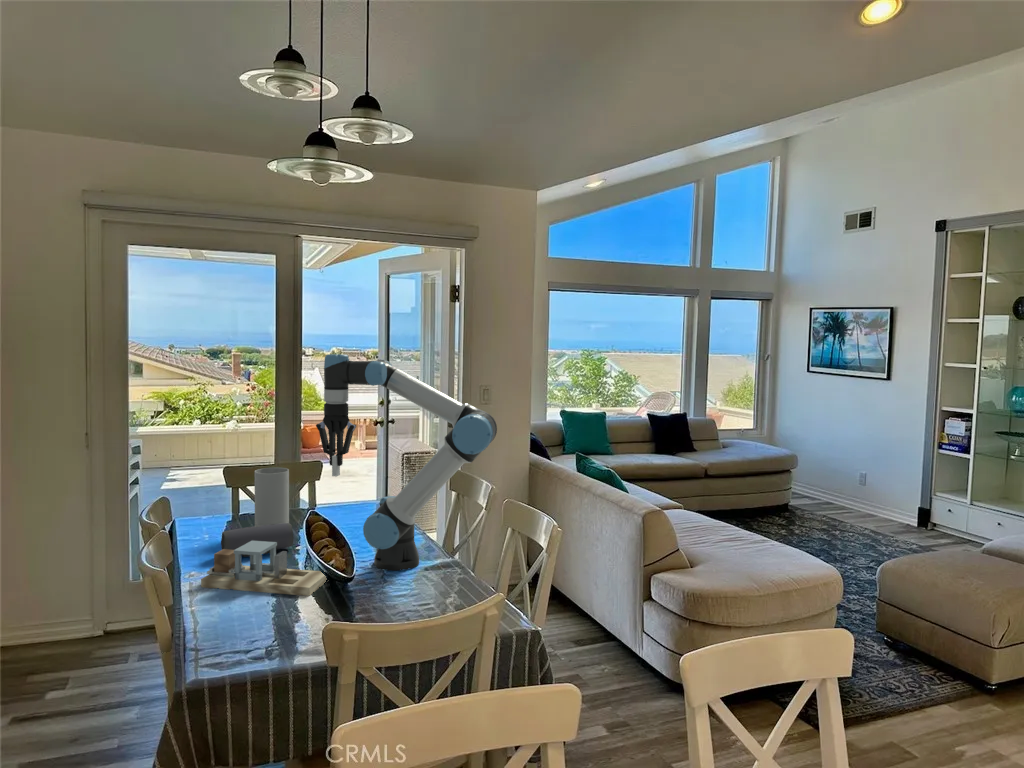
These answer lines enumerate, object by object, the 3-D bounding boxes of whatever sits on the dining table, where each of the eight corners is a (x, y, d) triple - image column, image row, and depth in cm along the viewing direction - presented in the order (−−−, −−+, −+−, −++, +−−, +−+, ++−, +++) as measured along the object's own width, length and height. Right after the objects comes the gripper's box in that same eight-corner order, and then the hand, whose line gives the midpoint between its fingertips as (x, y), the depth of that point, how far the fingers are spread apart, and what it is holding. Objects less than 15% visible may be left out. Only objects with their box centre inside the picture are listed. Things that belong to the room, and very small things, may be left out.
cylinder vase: (295, 533, 263) (295, 470, 261) (268, 540, 253) (268, 475, 251) (274, 528, 270) (274, 466, 268) (247, 535, 259) (247, 471, 258)
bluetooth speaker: (287, 545, 248) (287, 518, 247) (294, 552, 240) (294, 524, 239) (220, 555, 235) (220, 527, 234) (225, 563, 227) (225, 533, 227)
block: (238, 567, 213) (237, 550, 213) (229, 572, 208) (228, 555, 208) (223, 566, 214) (223, 549, 213) (214, 571, 209) (214, 553, 208)
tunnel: (277, 570, 214) (277, 542, 213) (260, 581, 204) (260, 552, 203) (252, 568, 215) (251, 540, 215) (233, 579, 205) (233, 550, 204)
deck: (329, 579, 213) (329, 571, 213) (309, 595, 200) (309, 587, 199) (227, 571, 219) (227, 563, 218) (201, 587, 205) (201, 578, 205)
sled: (287, 572, 211) (287, 550, 211) (277, 579, 205) (277, 557, 205) (218, 567, 215) (218, 545, 214) (206, 574, 208) (206, 551, 208)
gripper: (360, 402, 218) (359, 474, 219) (322, 400, 219) (321, 472, 221) (351, 404, 210) (350, 478, 212) (311, 402, 212) (311, 476, 214)
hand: (336, 475), depth 216 cm, fingers closed
